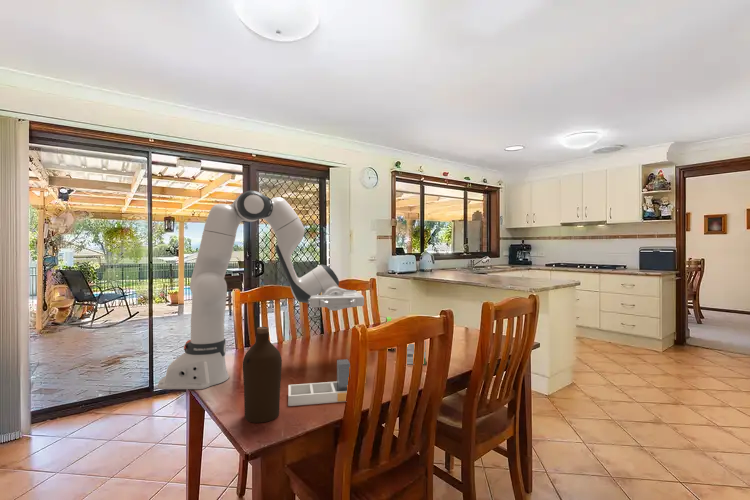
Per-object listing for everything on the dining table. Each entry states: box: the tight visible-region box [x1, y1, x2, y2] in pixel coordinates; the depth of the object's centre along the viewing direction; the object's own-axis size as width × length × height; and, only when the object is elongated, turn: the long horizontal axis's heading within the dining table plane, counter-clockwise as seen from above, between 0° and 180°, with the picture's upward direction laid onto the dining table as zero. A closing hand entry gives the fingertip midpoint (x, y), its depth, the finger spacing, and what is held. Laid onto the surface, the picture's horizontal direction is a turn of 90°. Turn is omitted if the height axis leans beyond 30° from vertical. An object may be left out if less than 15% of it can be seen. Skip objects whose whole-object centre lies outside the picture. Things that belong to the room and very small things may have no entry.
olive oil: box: [242, 326, 283, 424], centre depth 107 cm, size 11×11×25 cm
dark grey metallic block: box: [336, 358, 351, 392], centre depth 122 cm, size 4×5×11 cm
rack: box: [287, 381, 347, 407], centre depth 120 cm, size 21×10×3 cm, turn 103°
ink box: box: [406, 340, 427, 365], centre depth 158 cm, size 8×5×12 cm, turn 88°
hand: (339, 303), depth 134 cm, fingers open, 8 cm apart
